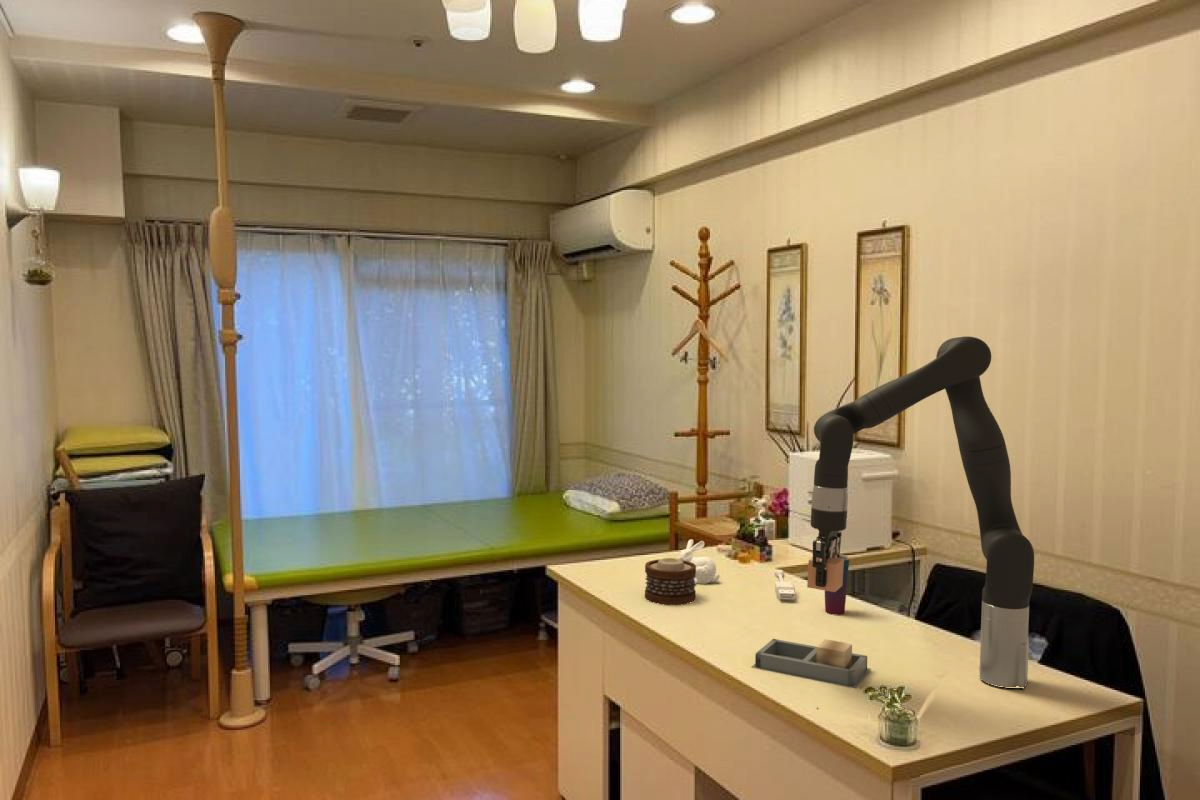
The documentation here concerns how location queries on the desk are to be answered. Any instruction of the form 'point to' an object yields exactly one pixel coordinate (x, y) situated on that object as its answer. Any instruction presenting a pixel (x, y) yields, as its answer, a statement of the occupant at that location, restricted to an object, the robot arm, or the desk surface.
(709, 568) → the rabbit
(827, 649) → the oak cube
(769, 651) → the pocket tray
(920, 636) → the desk surface
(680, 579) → the spiked roller
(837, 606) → the cup
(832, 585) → the terracotta cube
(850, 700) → the desk surface
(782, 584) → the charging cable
